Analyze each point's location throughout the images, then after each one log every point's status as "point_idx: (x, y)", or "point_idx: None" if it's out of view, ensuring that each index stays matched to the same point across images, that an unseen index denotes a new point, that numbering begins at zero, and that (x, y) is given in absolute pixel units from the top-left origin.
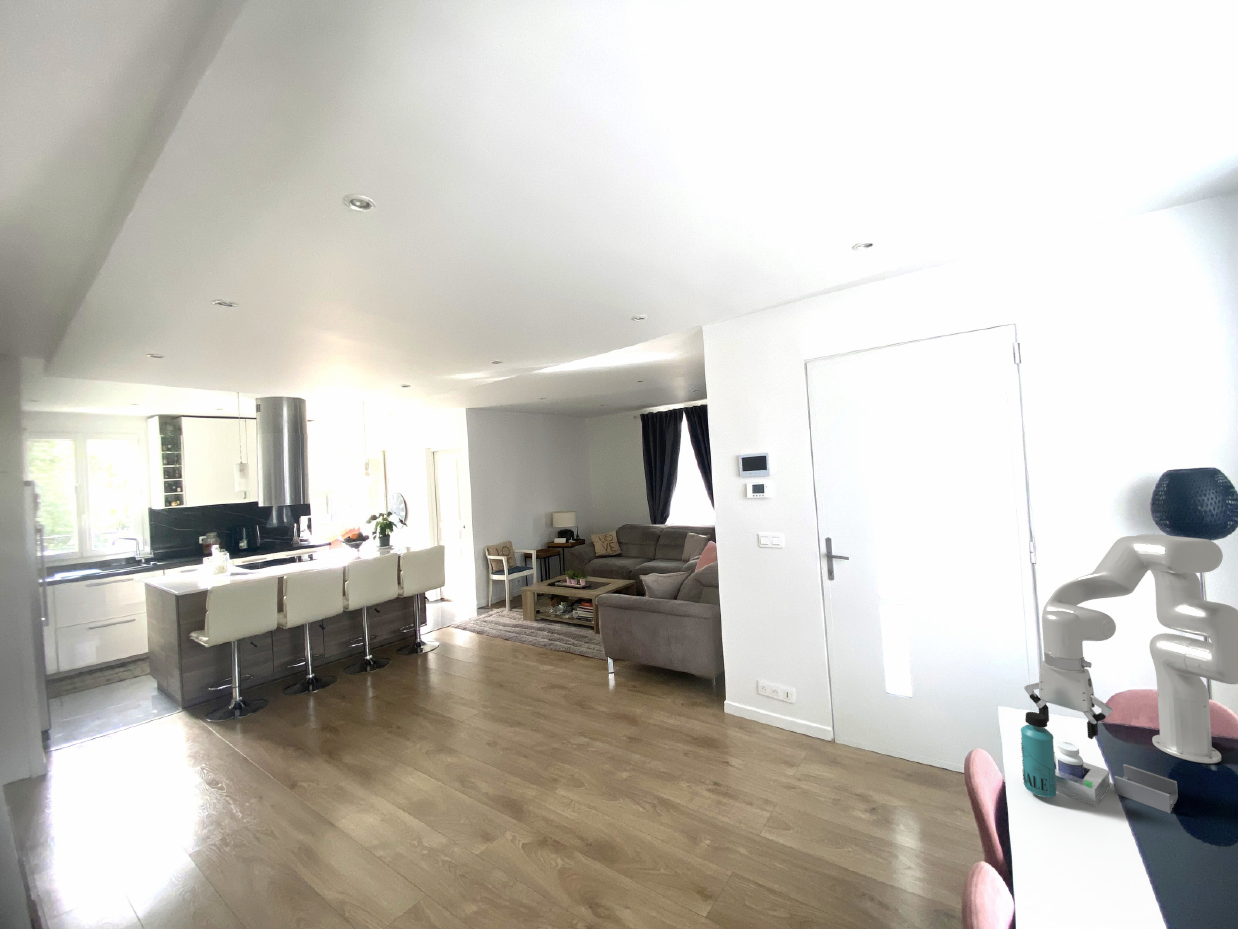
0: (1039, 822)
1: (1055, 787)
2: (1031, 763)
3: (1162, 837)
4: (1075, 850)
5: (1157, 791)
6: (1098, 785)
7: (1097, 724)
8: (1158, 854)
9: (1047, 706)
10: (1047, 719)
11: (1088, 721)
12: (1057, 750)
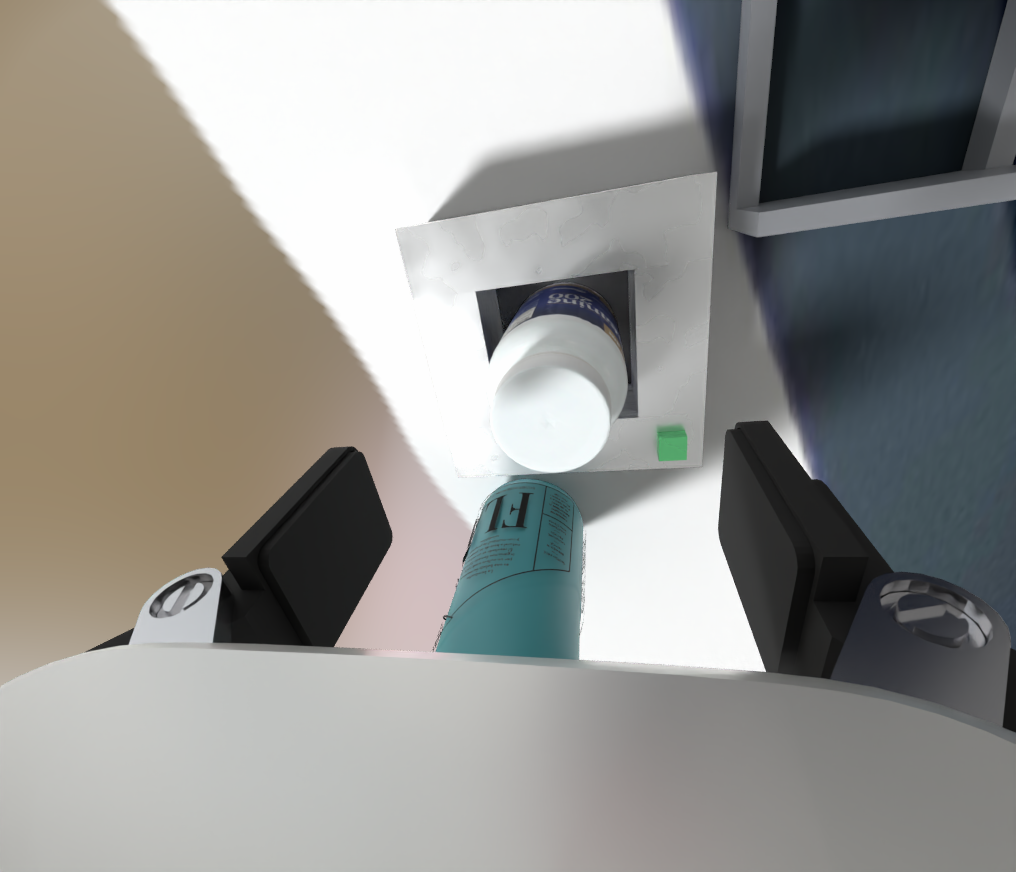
0: (594, 622)
1: (582, 542)
2: None
3: (918, 439)
4: (698, 663)
5: (1007, 194)
6: (704, 406)
7: (883, 560)
8: (896, 546)
9: (254, 553)
10: (360, 501)
11: (787, 662)
12: (492, 393)
